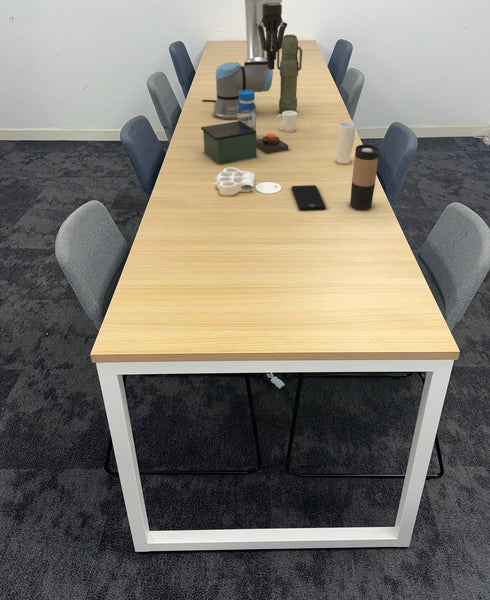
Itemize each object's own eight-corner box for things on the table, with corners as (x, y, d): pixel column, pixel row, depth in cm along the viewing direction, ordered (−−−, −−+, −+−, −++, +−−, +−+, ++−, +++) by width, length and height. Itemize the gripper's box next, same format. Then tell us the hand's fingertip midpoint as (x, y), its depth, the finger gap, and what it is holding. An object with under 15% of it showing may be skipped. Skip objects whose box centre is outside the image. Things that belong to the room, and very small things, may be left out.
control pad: (253, 145, 235) (253, 135, 233) (274, 141, 239) (274, 132, 237) (267, 154, 226) (267, 144, 224) (288, 150, 230) (288, 140, 228)
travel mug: (347, 201, 190) (353, 144, 178) (369, 200, 191) (376, 144, 179) (351, 211, 184) (358, 153, 172) (374, 210, 184) (382, 152, 173)
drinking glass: (353, 160, 222) (357, 122, 213) (349, 166, 217) (353, 128, 208) (337, 158, 224) (340, 120, 215) (333, 163, 218) (336, 126, 210)
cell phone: (299, 210, 184) (299, 207, 183) (291, 188, 198) (291, 185, 198) (325, 209, 184) (325, 206, 184) (315, 187, 199) (315, 184, 198)
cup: (296, 133, 248) (297, 115, 243) (274, 132, 249) (274, 114, 244) (297, 128, 254) (298, 110, 249) (276, 127, 254) (276, 109, 250)
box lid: (215, 140, 211) (215, 137, 210) (201, 129, 221) (200, 127, 221) (256, 133, 217) (256, 131, 217) (240, 123, 228) (240, 120, 227)
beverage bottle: (259, 137, 243) (260, 90, 232) (251, 143, 237) (251, 95, 225) (242, 134, 246) (242, 88, 234) (234, 140, 240) (232, 92, 228)
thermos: (298, 115, 270) (302, 37, 250) (275, 114, 271) (276, 36, 251) (300, 110, 277) (304, 34, 257) (277, 109, 279) (278, 33, 258)
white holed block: (253, 196, 193) (211, 195, 193) (255, 176, 207) (216, 175, 207) (252, 187, 191) (210, 186, 191) (255, 167, 205) (215, 166, 205)
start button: (264, 138, 231) (264, 134, 230) (272, 137, 233) (272, 133, 232) (269, 141, 228) (269, 137, 227) (277, 139, 230) (277, 135, 229)
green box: (219, 164, 217) (218, 139, 211) (204, 152, 227) (203, 128, 221) (256, 157, 223) (256, 133, 218) (240, 146, 234) (240, 123, 228)
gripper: (261, 6, 205) (261, 72, 219) (291, 4, 210) (289, 69, 224) (252, 3, 210) (252, 68, 224) (282, 1, 215) (280, 65, 229)
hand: (271, 68), depth 224 cm, fingers closed
